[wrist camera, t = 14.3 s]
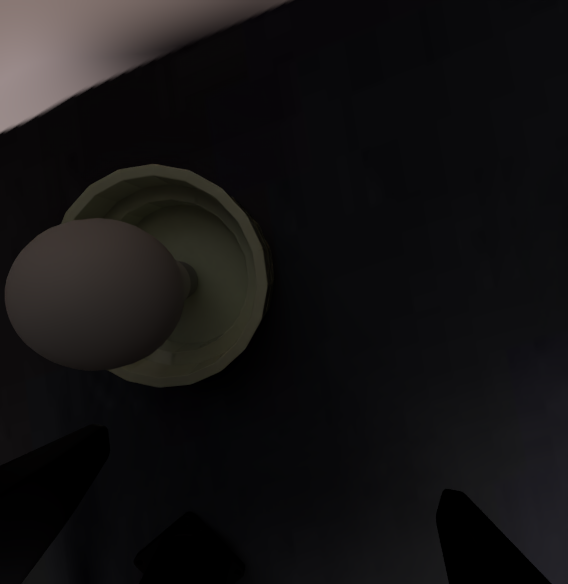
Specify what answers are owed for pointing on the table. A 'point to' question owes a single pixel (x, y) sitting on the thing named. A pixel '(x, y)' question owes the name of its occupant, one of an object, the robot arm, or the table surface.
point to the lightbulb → (96, 294)
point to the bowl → (197, 253)
